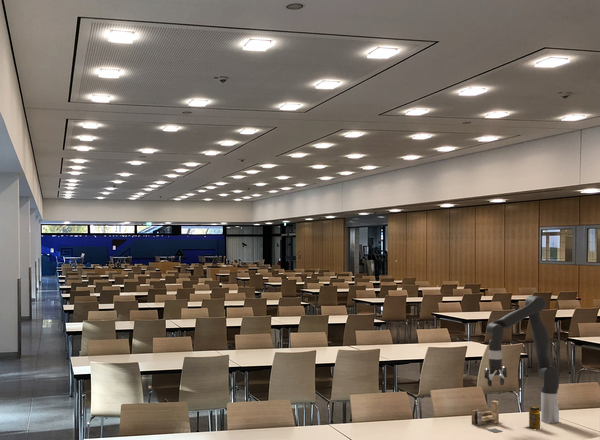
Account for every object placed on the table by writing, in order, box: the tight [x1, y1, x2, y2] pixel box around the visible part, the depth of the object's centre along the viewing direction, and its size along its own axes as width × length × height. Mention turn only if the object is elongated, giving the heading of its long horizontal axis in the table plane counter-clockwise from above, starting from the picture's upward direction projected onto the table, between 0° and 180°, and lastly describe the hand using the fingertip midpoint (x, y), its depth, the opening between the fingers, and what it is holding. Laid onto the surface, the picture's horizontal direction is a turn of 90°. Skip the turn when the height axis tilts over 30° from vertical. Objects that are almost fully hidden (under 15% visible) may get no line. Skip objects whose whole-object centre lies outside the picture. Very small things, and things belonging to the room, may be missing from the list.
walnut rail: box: [471, 409, 492, 426], centre depth 373 cm, size 18×2×8 cm, turn 118°
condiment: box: [523, 405, 544, 431], centre depth 363 cm, size 7×8×12 cm
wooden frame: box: [477, 400, 500, 426], centre depth 370 cm, size 15×3×12 cm, turn 118°
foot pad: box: [487, 428, 503, 434], centre depth 356 cm, size 6×6×1 cm
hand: (495, 385), depth 370 cm, fingers open, 8 cm apart
